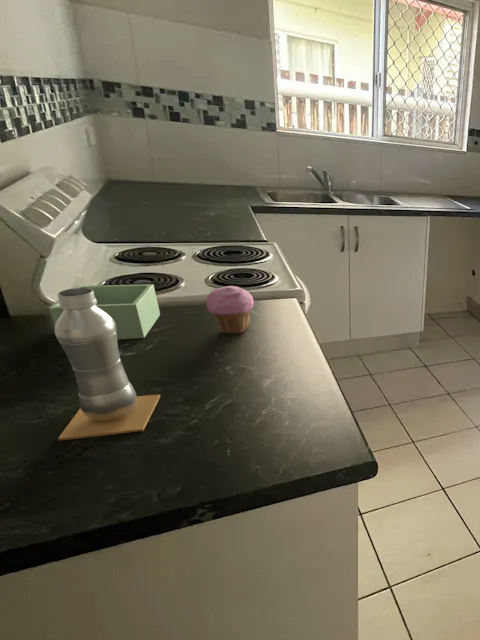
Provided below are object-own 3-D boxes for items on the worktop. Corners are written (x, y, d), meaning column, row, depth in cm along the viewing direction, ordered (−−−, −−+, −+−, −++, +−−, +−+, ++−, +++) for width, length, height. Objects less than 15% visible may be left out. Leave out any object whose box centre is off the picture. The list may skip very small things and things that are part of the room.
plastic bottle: (139, 419, 72) (106, 296, 64) (82, 431, 69) (38, 303, 60) (140, 399, 77) (108, 282, 69) (86, 409, 73) (46, 287, 65)
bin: (60, 342, 92) (48, 307, 89) (85, 317, 102) (75, 286, 99) (144, 337, 97) (136, 304, 94) (160, 314, 107) (153, 284, 104)
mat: (58, 440, 67) (57, 438, 67) (86, 403, 75) (85, 401, 75) (143, 431, 71) (142, 428, 70) (160, 396, 79) (160, 394, 79)
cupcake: (250, 338, 101) (244, 294, 97) (205, 339, 99) (197, 293, 95) (261, 322, 109) (256, 280, 104) (219, 322, 107) (212, 280, 103)
